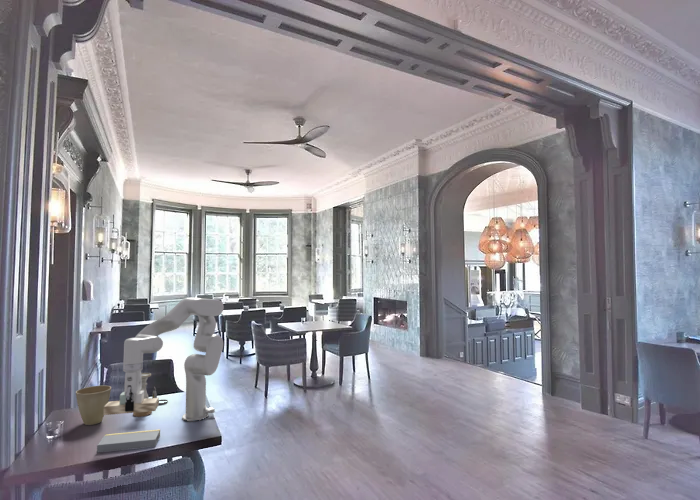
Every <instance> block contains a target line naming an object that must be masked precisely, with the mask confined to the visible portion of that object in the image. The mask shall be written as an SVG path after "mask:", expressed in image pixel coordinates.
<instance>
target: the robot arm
mask: <svg viewBox="0 0 700 500" xmlns="http://www.w3.org/2000/svg"><path fill="white" fill-rule="evenodd" d="M224 308H225V307H224V303H223V302H222V301H221V300H220V299H214V298H213V299H212V298H201V297H184V298H183V299H181V300H180V301H179V302H178V303H177V304H176V305H174V306H173V307H172V308H171V310H169V311H168V312H167V313H166V314H165V315H164V316H162V317H161V318H158V319H156V320H154V321H153V322H151V323H149V324H148V325H146V326H145V327H143V328H142V329H141V330H140V331H139V332H138V333H137V334H136V335H135V337H130V338H126V339H125V340H124V341H123V343H124V344H123V363H122V365H123V368H122V370H123V371H122V372H125V373H124V374H125V375H124V385H123V386H124V389H123V392H124V394H125V395H126V401H125V412H129V411H133V410H134V401H133V398H134V394H135V395H137V394H138V393H139V392H140V390H141V388H142V382H141V373H142V370H143V367H144V366H143V365H144V364H143V363H144V362H143V361H144V354H154V353H157V352H159V351H160V350H161V349H162V347H164V346H163V345H164V342H163V339H162V337H159V336H160V335H162V334H165V333H168V332H172V331H174V330H175V331H176V330H177V329H179V328H180V327H181V326H182V325H183V324H184V323H185V322H186V321H187V320H188V319H189V317H191V316H197V318H198V321H199V322H198V323H199V324H198V327H197V331H196V334H195V337H194V341H193V349H194V350H195V351H197V352H200V353H205V354H199V353H194V354H189V355H188V356H187V357H186V358H185V360H184V365H183V366H184V367H183V368H184V372H185V374H184V375H185V413H184V414H183V415H181V416H182V417H181V419H182V420H183V421H184V420H187V421H186V422H194V421H193V420H199V421H202V420H201V419H203V418H205V419H207V418H208V417H209V414H214V413H216V412H215V408H213V407H209V408H208V407H207V405H206V402H207V401H206V400H207V399H206V398H207V395H206V394H207V380H206V379H207V378H206V376H207V377H208V376H212V375H213V374H215V373H216V371H217V369H218V367H219V363H220V360H221V357H222V352H223V349H224V340H223V337H222V336H221V335H219V334H216V333H215V330H216V327H217V326H216V325H217V321H216V318H215V317H218V316H220V315H221V314H222V313H223V311H224ZM130 393H133V394H130ZM130 396H132V399H131V397H130ZM206 417H207V418H206ZM203 420H204V419H203Z"/></svg>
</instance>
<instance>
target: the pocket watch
mask: <svg viewBox="0 0 700 500" xmlns="http://www.w3.org/2000/svg"><path fill="white" fill-rule="evenodd" d="M153 388H154V389H153V391H152V395H151V398H158V395H157V393H158V392H157V391H156V387H153ZM159 401H167V403H168V402H169V401H168V399H159ZM164 403H165V404H167V403H166V402H164ZM164 403H159V405H164Z"/></svg>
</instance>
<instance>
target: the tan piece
mask: <svg viewBox="0 0 700 500" xmlns="http://www.w3.org/2000/svg"><path fill="white" fill-rule="evenodd" d="M159 400H160V399H159V397H157V398H152V397H151V398H150V397H149V399H144V400H143V402H142V403H136V404H134V410H133V411H129V412H125V404H123V405H120V400H112V401H109V402H108V403H107V404H106V405H105V406H104V416H111V415H121V414H133V413H136V412H148V411H152V412H156V411H157V409H158V407H159V405H160V404H159ZM158 404H159V405H158Z"/></svg>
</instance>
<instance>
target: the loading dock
mask: <svg viewBox="0 0 700 500" xmlns="http://www.w3.org/2000/svg"><path fill="white" fill-rule="evenodd" d="M160 437H161V429H150V430H139V431H129V432H128V431H127V432H120V433H118V432H117V433H109V434H108V433H107V434H104V436H103V437H102V438H101V440H100V441H99V443H98V444H97V445H96V453H105V452H106V453H108V452H116V451H118V452H119V451H126V450H135V449H137V450H138V449H147V448H155V447H156V445H157V444H158V442H159V440H160Z"/></svg>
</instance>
